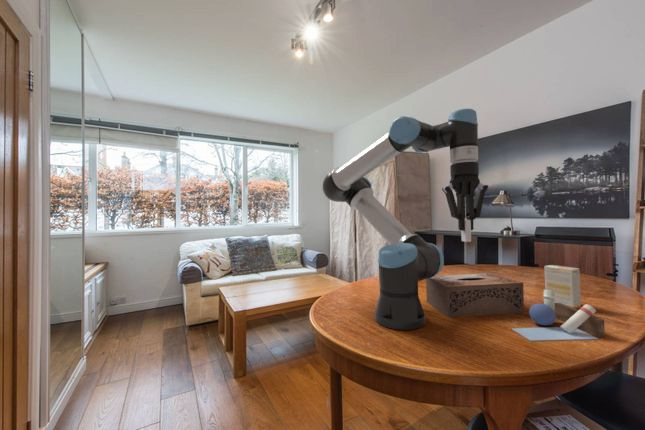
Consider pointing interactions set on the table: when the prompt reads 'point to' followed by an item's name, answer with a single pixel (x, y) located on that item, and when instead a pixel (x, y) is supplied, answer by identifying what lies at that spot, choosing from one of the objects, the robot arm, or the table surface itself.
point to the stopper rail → (590, 325)
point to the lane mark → (552, 334)
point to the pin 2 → (578, 318)
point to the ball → (542, 314)
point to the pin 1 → (549, 299)
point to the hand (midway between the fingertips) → (466, 241)
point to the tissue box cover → (475, 294)
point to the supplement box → (564, 284)
